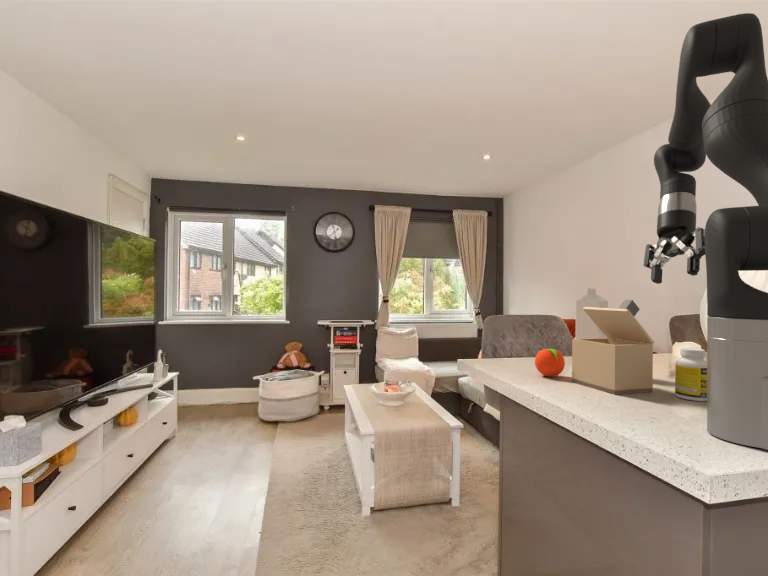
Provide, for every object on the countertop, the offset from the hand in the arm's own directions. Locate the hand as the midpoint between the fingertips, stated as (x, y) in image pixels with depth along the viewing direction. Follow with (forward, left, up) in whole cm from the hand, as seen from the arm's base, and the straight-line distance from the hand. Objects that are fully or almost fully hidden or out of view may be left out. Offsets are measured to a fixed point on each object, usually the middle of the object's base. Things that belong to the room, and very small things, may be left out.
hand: (673, 278), depth 92 cm
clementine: (+14, +22, -25) cm, 36 cm away
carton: (+2, +16, -24) cm, 29 cm away
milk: (+17, +7, -25) cm, 30 cm away
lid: (+2, +15, -11) cm, 18 cm away
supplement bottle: (-10, +8, -25) cm, 28 cm away
